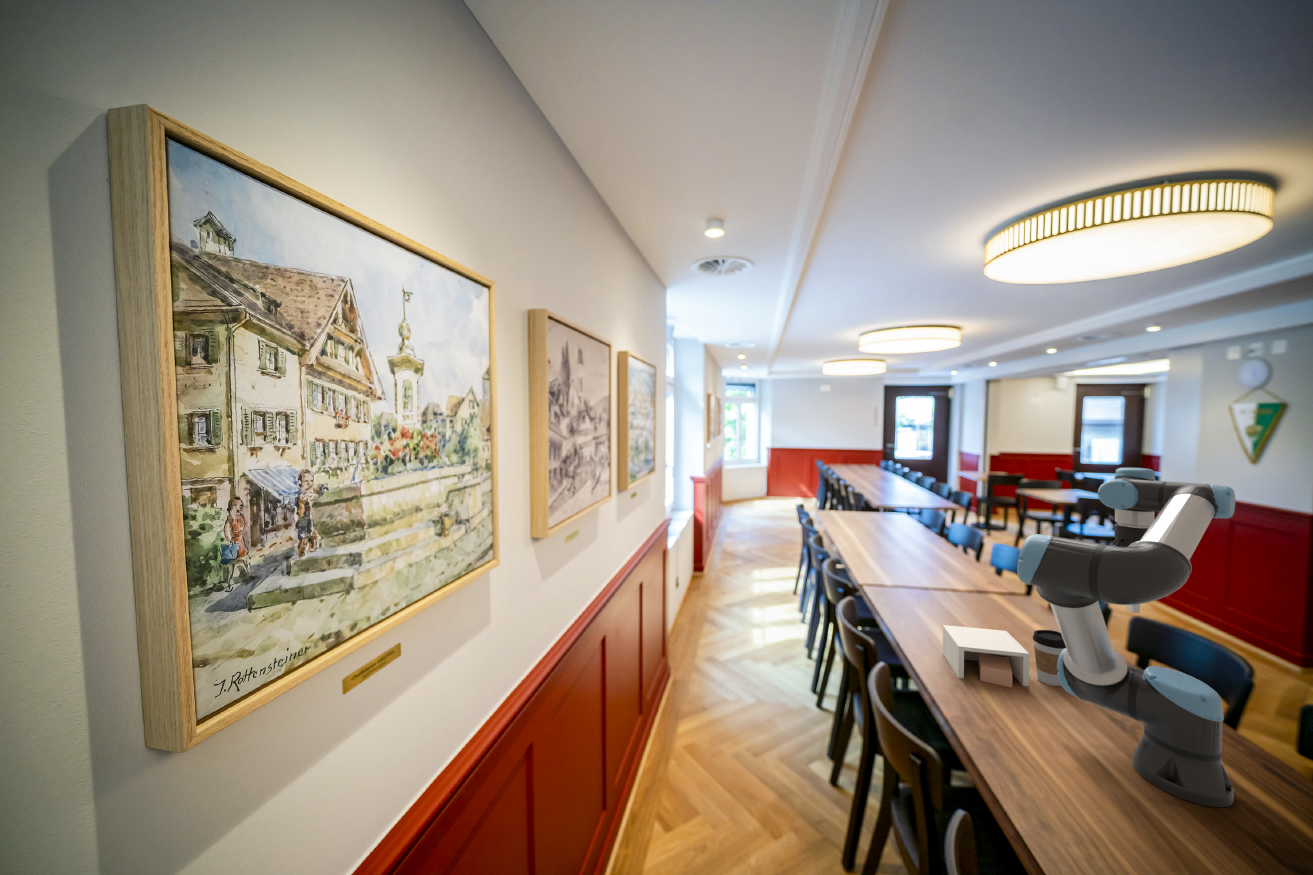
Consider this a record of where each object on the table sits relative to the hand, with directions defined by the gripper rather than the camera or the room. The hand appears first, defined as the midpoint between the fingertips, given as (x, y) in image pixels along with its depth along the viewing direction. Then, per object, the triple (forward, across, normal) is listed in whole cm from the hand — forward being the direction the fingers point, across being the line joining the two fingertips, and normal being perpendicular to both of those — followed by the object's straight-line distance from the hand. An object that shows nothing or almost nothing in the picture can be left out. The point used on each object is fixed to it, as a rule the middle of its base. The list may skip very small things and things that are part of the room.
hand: (1132, 610), depth 127 cm
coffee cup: (+30, +12, -15) cm, 35 cm away
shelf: (+29, +29, -18) cm, 45 cm away
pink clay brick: (+30, +27, -14) cm, 43 cm away
